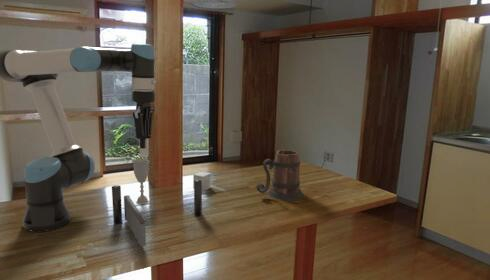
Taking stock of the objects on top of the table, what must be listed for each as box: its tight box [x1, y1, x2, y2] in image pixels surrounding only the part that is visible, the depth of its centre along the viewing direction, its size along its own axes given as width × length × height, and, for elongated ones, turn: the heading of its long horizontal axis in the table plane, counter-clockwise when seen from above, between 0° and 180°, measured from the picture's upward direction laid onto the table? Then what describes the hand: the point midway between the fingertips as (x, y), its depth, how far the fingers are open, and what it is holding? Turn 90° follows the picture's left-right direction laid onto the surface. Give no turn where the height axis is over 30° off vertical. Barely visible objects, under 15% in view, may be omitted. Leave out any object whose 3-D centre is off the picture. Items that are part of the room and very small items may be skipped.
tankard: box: [256, 149, 304, 201], centre depth 166 cm, size 24×17×20 cm
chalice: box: [132, 158, 150, 205], centre depth 153 cm, size 7×7×18 cm
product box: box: [192, 171, 212, 192], centre depth 173 cm, size 6×6×7 cm
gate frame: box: [111, 180, 203, 225], centre depth 138 cm, size 33×3×14 cm, turn 108°
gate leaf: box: [123, 194, 147, 248], centre depth 124 cm, size 25×2×10 cm, turn 29°
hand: (144, 156), depth 130 cm, fingers closed
